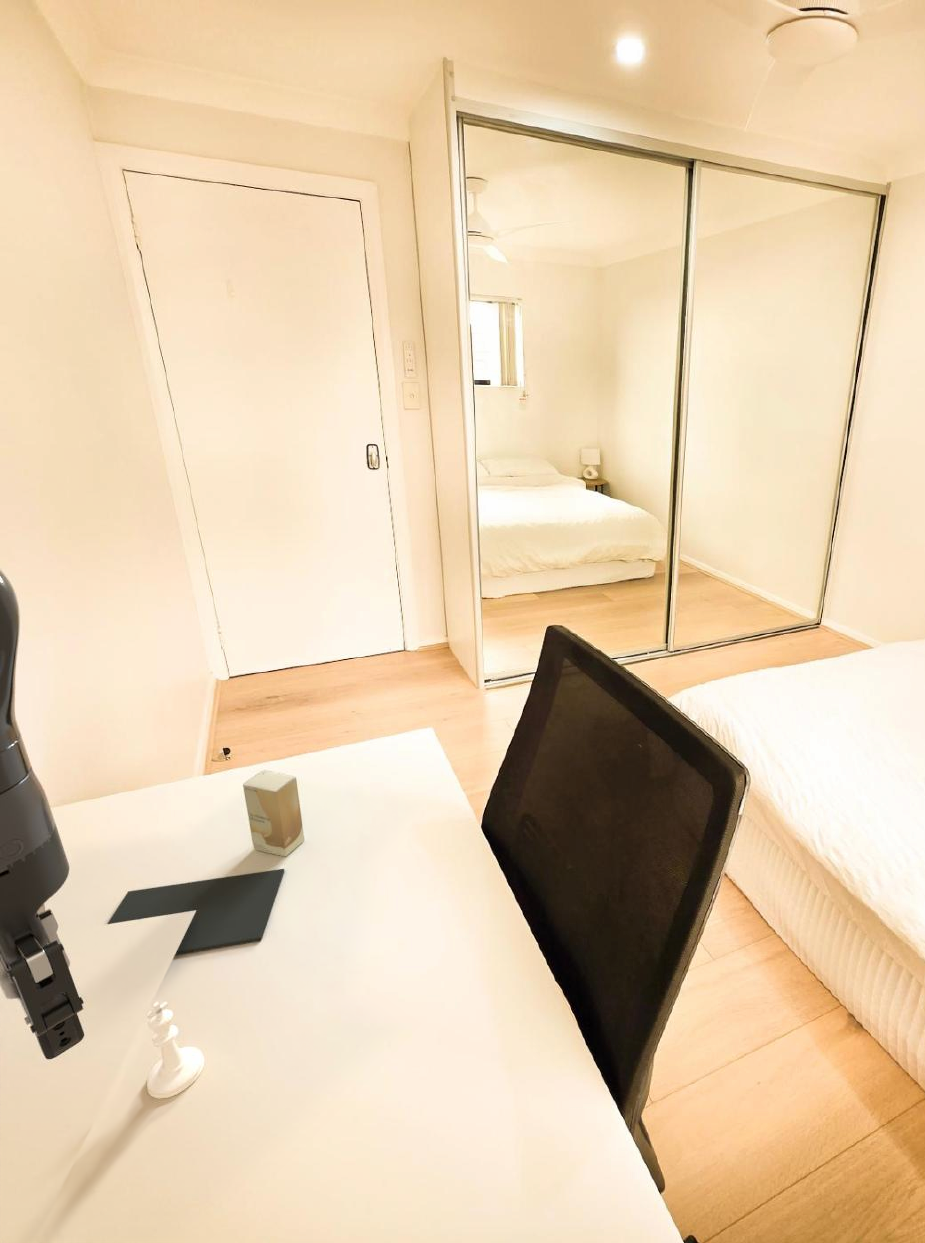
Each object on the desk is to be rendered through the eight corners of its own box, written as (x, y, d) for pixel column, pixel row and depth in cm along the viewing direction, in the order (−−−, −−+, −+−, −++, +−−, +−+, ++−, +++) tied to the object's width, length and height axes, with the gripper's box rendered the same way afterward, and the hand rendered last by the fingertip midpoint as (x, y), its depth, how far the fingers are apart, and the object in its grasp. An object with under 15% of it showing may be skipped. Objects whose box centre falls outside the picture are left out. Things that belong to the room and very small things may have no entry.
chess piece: (214, 1066, 65) (195, 997, 62) (162, 1108, 61) (139, 1037, 58) (189, 1042, 67) (170, 974, 64) (138, 1081, 63) (115, 1011, 60)
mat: (79, 972, 75) (78, 968, 75) (129, 894, 87) (128, 891, 86) (261, 940, 80) (260, 937, 80) (284, 871, 92) (284, 868, 92)
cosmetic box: (252, 850, 96) (239, 783, 92) (273, 832, 100) (261, 768, 96) (287, 858, 95) (275, 791, 91) (307, 840, 99) (296, 775, 95)
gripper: (-124, 830, 42) (-47, 1001, 48) (-77, 928, 35) (7, 1118, 40) (21, 780, 48) (74, 937, 54) (87, 855, 41) (142, 1029, 46)
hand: (46, 1015), depth 47 cm, fingers open, 8 cm apart
